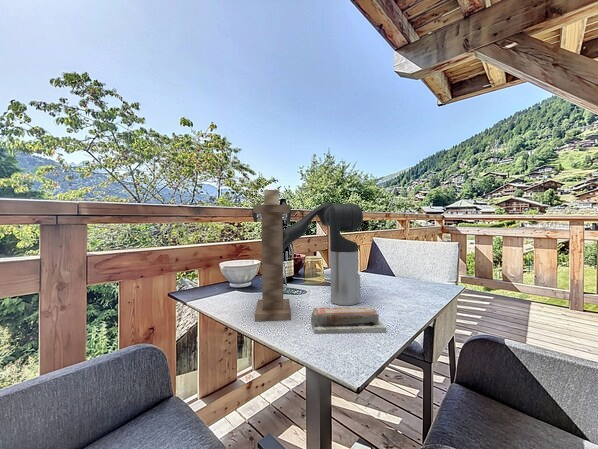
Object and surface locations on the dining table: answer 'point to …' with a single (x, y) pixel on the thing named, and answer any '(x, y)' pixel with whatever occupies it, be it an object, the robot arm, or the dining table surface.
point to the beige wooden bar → (271, 197)
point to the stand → (272, 265)
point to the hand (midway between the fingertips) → (271, 204)
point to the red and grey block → (346, 320)
